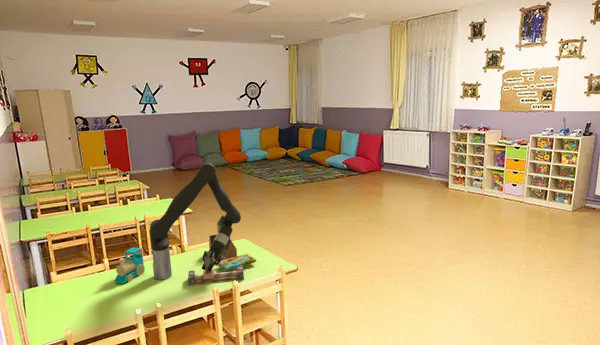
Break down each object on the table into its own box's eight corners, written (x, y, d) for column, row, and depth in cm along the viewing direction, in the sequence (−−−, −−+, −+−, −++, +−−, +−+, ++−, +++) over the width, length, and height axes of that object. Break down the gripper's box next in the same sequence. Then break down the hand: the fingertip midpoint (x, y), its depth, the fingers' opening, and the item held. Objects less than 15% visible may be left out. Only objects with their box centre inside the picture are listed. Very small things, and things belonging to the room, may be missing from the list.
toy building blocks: (228, 248, 273) (225, 212, 268) (237, 258, 257) (234, 220, 252) (209, 252, 267) (206, 215, 262) (217, 262, 251) (215, 223, 246)
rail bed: (188, 285, 222) (187, 277, 221) (189, 278, 230) (188, 270, 230) (243, 279, 227) (243, 271, 226) (242, 272, 236) (242, 264, 235)
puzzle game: (217, 260, 243) (246, 252, 254) (217, 268, 244) (247, 259, 255) (225, 267, 234) (256, 258, 245) (226, 274, 234) (256, 265, 246)
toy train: (113, 283, 227) (110, 258, 224) (134, 271, 243) (132, 247, 240) (124, 285, 225) (121, 259, 222) (145, 272, 240) (142, 248, 237)
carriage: (203, 279, 225) (201, 260, 222) (203, 275, 230) (202, 256, 228) (214, 278, 226) (213, 259, 223) (214, 273, 231) (213, 255, 229)
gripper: (207, 237, 234) (192, 264, 226) (225, 241, 226) (210, 270, 219) (214, 243, 239) (200, 270, 232) (232, 247, 231) (218, 275, 224)
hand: (205, 270), depth 225 cm, fingers closed on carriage, 3 cm apart
